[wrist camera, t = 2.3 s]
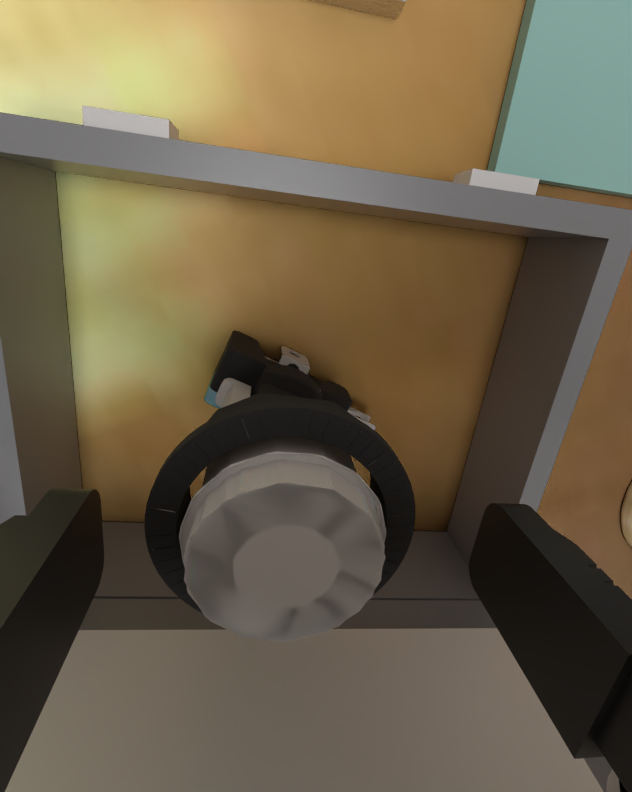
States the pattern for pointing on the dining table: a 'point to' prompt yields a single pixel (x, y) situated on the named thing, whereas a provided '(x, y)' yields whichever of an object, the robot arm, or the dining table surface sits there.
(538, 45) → the pad
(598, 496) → the dining table surface
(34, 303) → the case
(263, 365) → the push button
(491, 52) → the dining table surface
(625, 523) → the hand bell
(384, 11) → the rod
